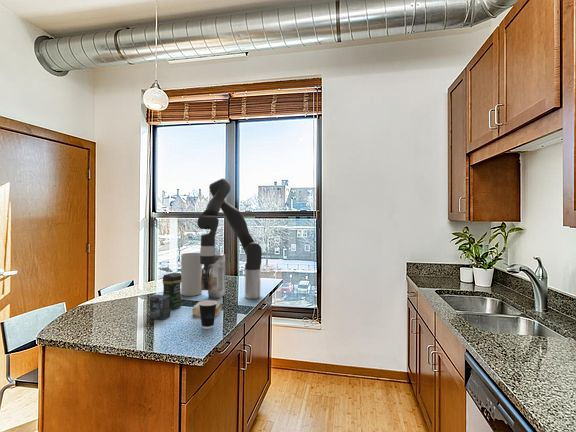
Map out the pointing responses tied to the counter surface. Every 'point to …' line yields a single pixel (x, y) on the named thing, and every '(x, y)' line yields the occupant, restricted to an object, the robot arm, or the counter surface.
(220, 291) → the juice carton
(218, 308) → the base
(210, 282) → the walnut block
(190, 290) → the cylinder vase
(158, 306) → the box
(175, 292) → the coffee jar
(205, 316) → the dixie cup
